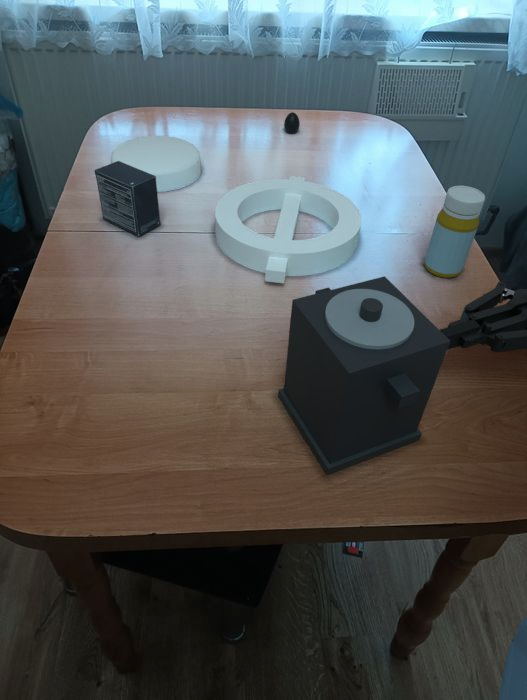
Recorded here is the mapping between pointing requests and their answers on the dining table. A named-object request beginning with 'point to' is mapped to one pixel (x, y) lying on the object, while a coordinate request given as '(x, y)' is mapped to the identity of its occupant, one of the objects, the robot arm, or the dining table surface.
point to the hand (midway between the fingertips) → (434, 342)
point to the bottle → (454, 231)
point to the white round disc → (162, 160)
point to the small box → (128, 197)
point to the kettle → (359, 371)
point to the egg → (291, 123)
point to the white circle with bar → (287, 227)
